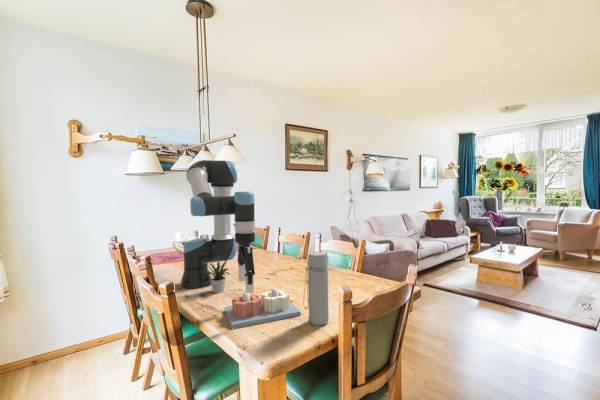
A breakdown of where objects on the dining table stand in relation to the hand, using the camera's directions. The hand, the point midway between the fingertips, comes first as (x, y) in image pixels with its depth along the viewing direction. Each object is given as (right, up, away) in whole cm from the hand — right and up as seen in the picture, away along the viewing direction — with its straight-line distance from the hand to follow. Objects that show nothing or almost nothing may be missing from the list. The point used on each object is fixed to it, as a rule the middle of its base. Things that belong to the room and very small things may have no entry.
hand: (245, 286), depth 110 cm
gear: (0, -10, 0) cm, 10 cm away
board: (+6, -11, +2) cm, 13 cm away
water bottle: (+27, -11, -6) cm, 30 cm away
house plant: (-20, -11, +27) cm, 35 cm away
